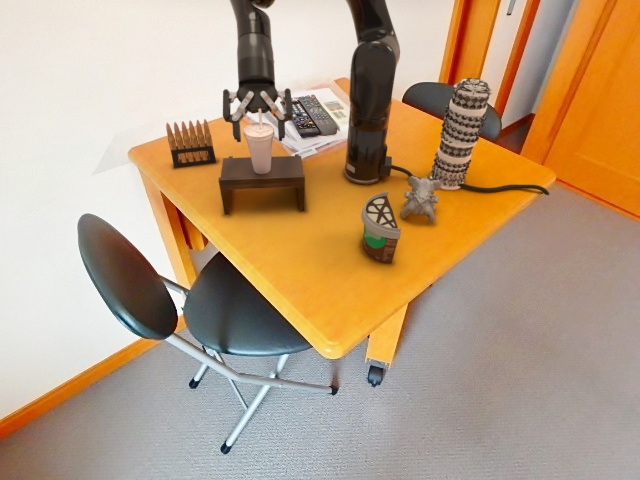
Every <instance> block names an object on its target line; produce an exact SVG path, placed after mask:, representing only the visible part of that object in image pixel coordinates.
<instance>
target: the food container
mask: <svg viewBox="0 0 640 480" xmlns="http://www.w3.org/2000/svg"><path fill="white" fill-rule="evenodd" d="M388 196H389V191H385V192H378V193H376V194H374V195H372V196H370V197H369V198H368V199H367V200H366V201H365V203H364V204H363V207H362V210H361V211H360V220H361V222H362V224H363V231H362V232H363V233H362V234H363V236H362V248H363V251H364V253H365V254H366V255H367V257H369V258H370V259H372V260H374V261H375V262H378V263H381V264H382V263H383V264H393V260H394V256H395V253H396V249H397V245H398V243H399V240H400V239H401V235H402V232H401V231H402V229H401V228H399V227H398V224H397V222H396V218H395V213H394V211H393V209H392V207H391V203H390V201H389V198H388Z"/></svg>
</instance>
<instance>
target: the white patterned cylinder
mask: <svg viewBox="0 0 640 480" xmlns="http://www.w3.org/2000/svg"><path fill="white" fill-rule="evenodd" d="M492 94H493V90H492V88H491V87H490V85H489V83H488V82H487V81H486V80H484V79H481V78H476V77H466V78H462V79H461V80H460V81H459V82H458V83H457V82H456V83H455V84H454V85H453V92H452V95H451V96H452V97H451V99H450V101H449V102H448V104H446V107H445V109H444V115H443V116H444V117H443V119H442V120H443V123H442V124H441V127H442V128H441V132H440V136H439V137H440V144H439V146H438V148H437V151H436V153H435V154H434V156H435V157H434V158H433V164H432V165H431V170H430V175H429V179H434V180H440V181H441V188H440V189H442V190H447V191H454V190H455V191H456V190H459V189H461V188H462V187H460V186H458V185H459V184H461V183H463V184H465V183H464V182H465V180H466V179H467V178H466V177H467V175H468V170H469V168H470V164H471V163H472V159H471V158H472V154H473V152H472V151H473V150H474V147H475V146H476V144H477V143H478V141H479V140H480V137H479V136H480V135H481V134H482V130H481V129H480V128H483V127H484V126H485V124H486V123H485V122H484V121H486V120H487V118H488V117H487V114H486V112H487V108H488V102H489V100H490V96H492Z"/></svg>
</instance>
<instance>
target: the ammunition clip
mask: <svg viewBox="0 0 640 480" xmlns="http://www.w3.org/2000/svg"><path fill="white" fill-rule="evenodd" d="M195 127H196V129H195ZM195 127H194V123H193V122H192V120H189V122H188V129H187V125H186V123H185V122H184V121H181V130H180V128H179V125H178V123H177V122H176V121H174V122H173V129H174V131H173V130H172V128H171V125H170V124H169V123H168V122H166V125H165V129H166V135H167V142H168V145H169V146H168V147H169V150H170V153H171V159H172V164H173V169H180V168H187V167H196V166H205V165H213V164H216V163H217V157H216V154H215V148H214V143H213V138H212V134H211V130H210V126H209V123H208V121H207V119H206V118H204V119H203V127H202V125H201V122H200V121H199V119H196V123H195ZM188 130H189V132H188ZM203 131H204V132H203ZM173 132H174V134H173ZM181 132H182V134H181Z"/></svg>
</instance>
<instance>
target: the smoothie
mask: <svg viewBox="0 0 640 480" xmlns="http://www.w3.org/2000/svg"><path fill="white" fill-rule="evenodd" d="M258 111H259V112H258V121H259V122H252V123H249V124H247V125H246V126H244V128H243V137H244V138H245V140H246V143H247V149H248V152H249V157H251V160H252V164H253V168H254V171H255V172H256V173H258V174H265V173H268V172H269V171H270V170H271V157H273V155H272V153H273V142H274V136H275V127H274V126H273V125H271V124H270V123H266V122H263V113H261V109H258Z"/></svg>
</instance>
